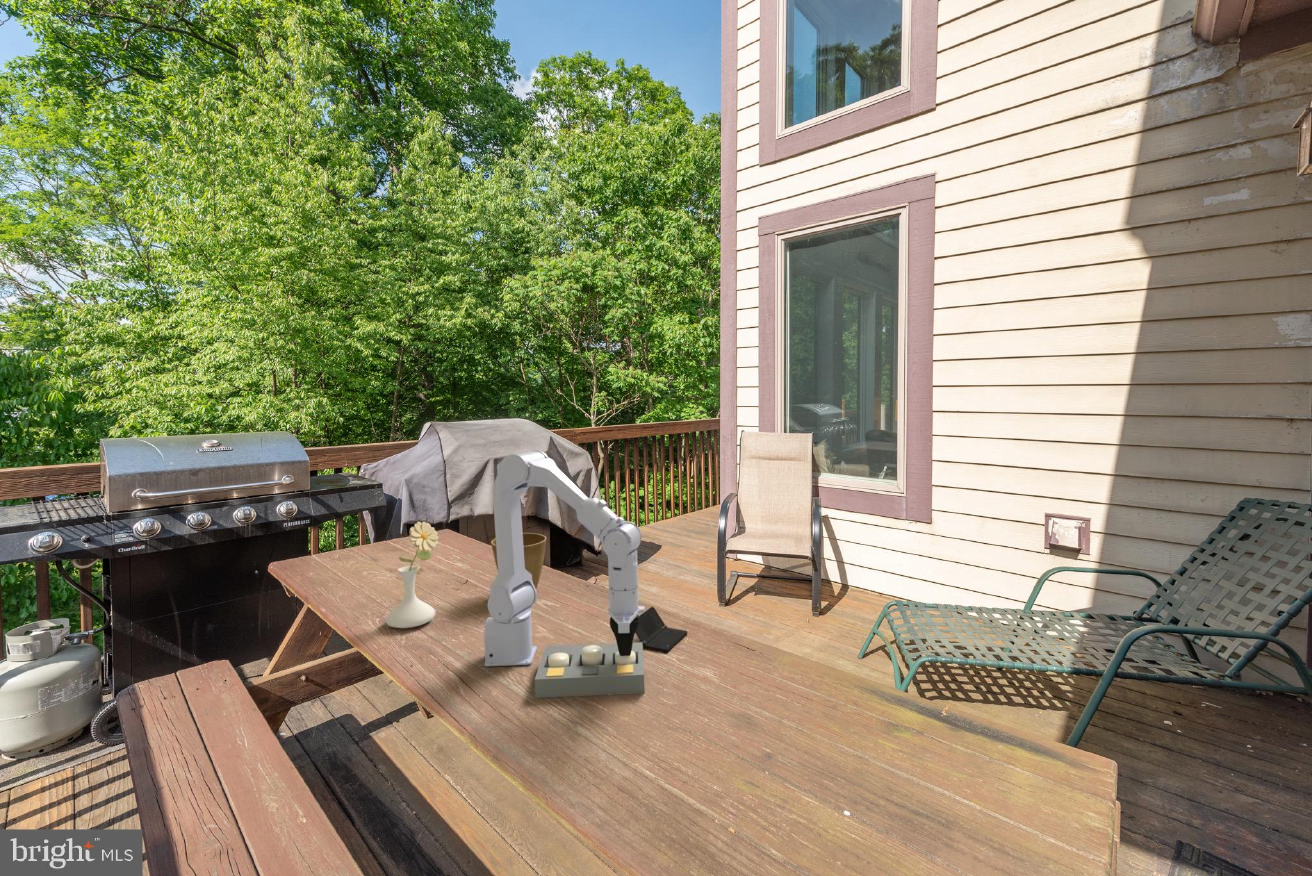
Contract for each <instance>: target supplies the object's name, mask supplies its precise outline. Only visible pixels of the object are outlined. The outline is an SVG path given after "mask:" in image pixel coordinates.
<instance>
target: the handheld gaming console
mask: <svg viewBox="0 0 1312 876" xmlns="http://www.w3.org/2000/svg"><path fill="white" fill-rule="evenodd" d="M635 635H636V637H637V639H639V642H642V645H643V650H644V649H645V650H648V649H650V650H649V651H653V650H654V651H655V652H658V651H659V653H663V652H664V654H668V653H670V652H671V651H672V650H673V649H674V648H675V647H676V646H677V645H678V644H679V643H680V642H681V641H682V640H684V638H686V636H688V631H687V630H683V629H679V628H678V629H677V628H674V627H673V628H672V627H668V626H667V625H666V624H665V622H664V621H663V619H662V618H661V616H660V614H659V613H658V612H657V610H656V609H655V607H654V606H650V607H649V608H648V609H647V610H645V612H644V613H640V615H639V625H638V628H637V630H636V632H635ZM674 646H675V647H674ZM673 647H674V648H673ZM672 648H673V649H672ZM671 649H672V650H671ZM654 651H653V652H654ZM660 651H661V652H660Z"/></svg>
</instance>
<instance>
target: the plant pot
mask: <svg viewBox="0 0 1312 876" xmlns="http://www.w3.org/2000/svg"><path fill="white" fill-rule="evenodd" d="M490 544H491V549H492V553H493V557H494V558H493V559H494V562H495V565H496V566H495V567H496V569H497V571H498V563H497V548H496V537H495V538H494V539H492V540H491V543H490ZM546 545H547V536H546V535H543V534H540V533H535V532H534V533H533V532H523V547H524V562H525V569H526V570H527V571H528V572H529V573H530V574H531V575H532V581H533V584H534V586H535V588H536V590H537V588H538V584H539V582H540V579H541V575H542V571H543V565H544V562H545V561H544V560H545V555H546V553H545V552H546Z"/></svg>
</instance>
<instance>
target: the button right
mask: <svg viewBox="0 0 1312 876" xmlns="http://www.w3.org/2000/svg"><path fill="white" fill-rule="evenodd" d="M617 664H636V655H635V652H634V651H631V655H630V656H620V654H619V651H618V652H617V653H616V654H615V665H617Z"/></svg>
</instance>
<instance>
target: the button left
mask: <svg viewBox="0 0 1312 876" xmlns="http://www.w3.org/2000/svg"><path fill="white" fill-rule="evenodd" d="M548 667H569V655H568V654H566V653H555V654H552V655H550V656H549V657H548Z"/></svg>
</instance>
